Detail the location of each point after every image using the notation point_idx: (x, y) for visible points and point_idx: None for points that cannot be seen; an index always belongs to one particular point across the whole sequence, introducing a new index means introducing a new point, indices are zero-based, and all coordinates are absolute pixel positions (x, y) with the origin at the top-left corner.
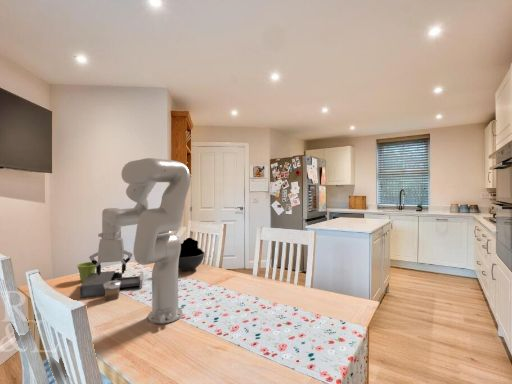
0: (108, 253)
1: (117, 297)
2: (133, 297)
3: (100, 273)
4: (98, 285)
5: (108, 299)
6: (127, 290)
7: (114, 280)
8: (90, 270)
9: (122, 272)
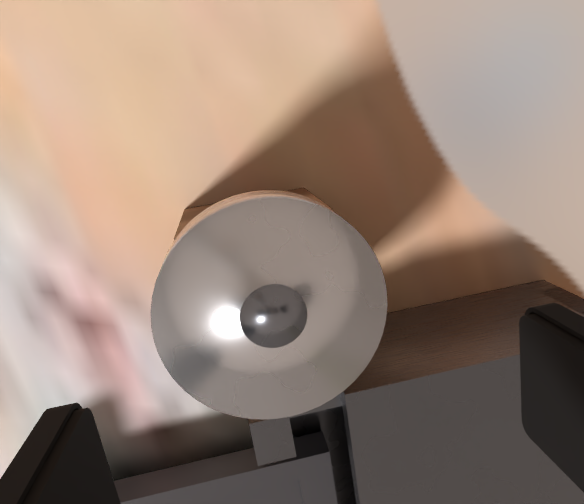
0: None
1: (187, 212)
2: (18, 226)
3: (522, 400)
4: (451, 361)
5: None
6: (165, 424)
7: (278, 417)
8: None
9: (65, 412)
